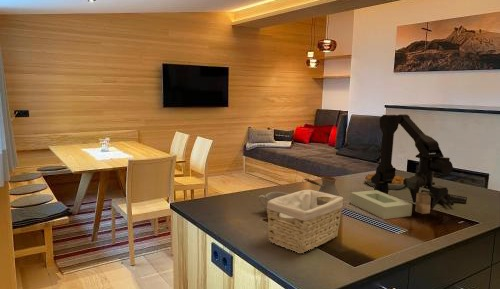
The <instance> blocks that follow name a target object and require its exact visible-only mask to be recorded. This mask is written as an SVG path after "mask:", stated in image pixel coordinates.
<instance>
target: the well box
mask: <svg viewBox="0 0 500 289" xmlns="http://www.w3.org/2000/svg"><path fill="white" fill-rule="evenodd" d="M350 204H351V205H354V206H355V207H358V208H360V209H362V210H363V211H366V212H368V213H371V214H372V215H374V216H376V217H379V218H380V219H381V220H388V219H389V220H390V219H395V218H396V219H397V218H403V217H404V218H405V217H411V216H412V213H413V203H411V202H408V201H406V200H404V199H403V200H402V199H400V198H399V197H395V196H392V195H391V194H389V193H388V194H385V193H383V192H380V191H378V190H374V189H373V190H365V191H354V192H350Z"/></svg>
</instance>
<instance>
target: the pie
mask: <svg viewBox="0 0 500 289" xmlns="http://www.w3.org/2000/svg"><path fill="white" fill-rule="evenodd" d="M375 174H376V172H375V173H372V174H366V175H365V177H364V179H365V181H366V183H367V184H369V186H370V187H373V188H374V183H371V178H372V177H373V176H374V175H375ZM405 178H406V177H403V175H402V176H401V175H399V176H398V175H397V174H395V176H394V179H393V181H392V183H391V184H390V183H389V184H388V190H401V189H403V188H404V187H405V186H406V185H403V180H404V179H405Z"/></svg>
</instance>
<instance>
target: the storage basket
mask: <svg viewBox="0 0 500 289" xmlns="http://www.w3.org/2000/svg"><path fill="white" fill-rule="evenodd" d="M318 191H319V190H318ZM318 191H317V190H313V189H310V188H309V189H304V190H299V191H295V192H292V193H288V195H284V196H281V197H277V198H274V199H272V200H270V201H268V202H267V210H266V214H267V220H268V221H267V228H268V229H267V231H268V233H267V234H268V241H269V240H271V241H274V242H276V243H280V244H282V245H285V246H287V247H288V248H291V249H294V250H296V251H299V252H300V253H303V252H305V251H308V250H309V251H311V250H313V249H315V248H314V247H316V248H318V247H319V246H321V245H324V244H326V243H327V242H330V241H331V240H333V239H334V238H335V239H336V237H337V236H338V232H339V227H340V223H341V222H340V220H341V214H342V211H343V206H344V197H342V196H340V195H339V196H335V195H331V194H327V193H323V192H318ZM317 199H319V200H322V201H325V202H328V203H326V204H324V205H317ZM310 249H311V250H310ZM309 251H308V252H309ZM303 254H304V253H303Z"/></svg>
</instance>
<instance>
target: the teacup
mask: <svg viewBox="0 0 500 289" xmlns="http://www.w3.org/2000/svg"><path fill="white" fill-rule="evenodd" d="M288 194H289V193H287V192H284V191H283V192H282V191H271V192H268V193H266V194H265V195H264V194H261V195H259V196H258V197H257V203H258V204H259V205H260V206H261V207H263V208H264V210H266V211H267V202H268V201H270V200H272V199H274V198H277V197H281V196H284V195H288ZM261 199H263V200H264V202H265V204H264V203H262V201H261Z"/></svg>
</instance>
